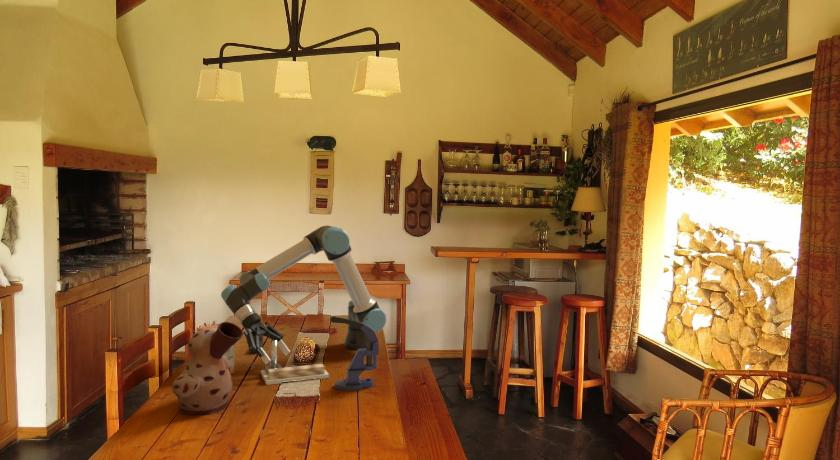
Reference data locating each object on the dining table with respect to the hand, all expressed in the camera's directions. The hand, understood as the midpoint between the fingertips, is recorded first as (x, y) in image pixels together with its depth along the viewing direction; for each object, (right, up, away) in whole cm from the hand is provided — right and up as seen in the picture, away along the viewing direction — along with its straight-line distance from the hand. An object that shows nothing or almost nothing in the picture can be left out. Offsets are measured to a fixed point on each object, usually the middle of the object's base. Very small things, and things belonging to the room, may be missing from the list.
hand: (278, 357), depth 233 cm
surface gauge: (-2, -6, 0) cm, 6 cm away
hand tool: (-20, -5, +40) cm, 45 cm away
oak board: (+8, -7, -2) cm, 11 cm away
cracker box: (-25, -7, -2) cm, 26 cm away
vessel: (-16, -10, -33) cm, 38 cm away
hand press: (+32, -9, -9) cm, 34 cm away
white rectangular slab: (+6, -8, +1) cm, 10 cm away
